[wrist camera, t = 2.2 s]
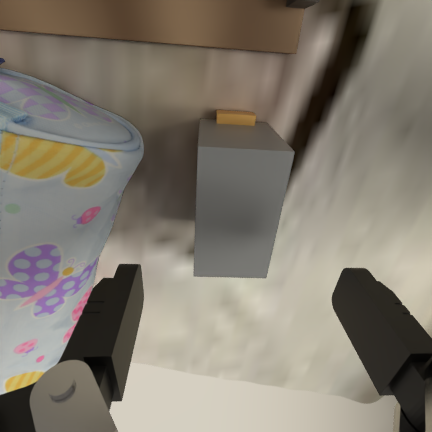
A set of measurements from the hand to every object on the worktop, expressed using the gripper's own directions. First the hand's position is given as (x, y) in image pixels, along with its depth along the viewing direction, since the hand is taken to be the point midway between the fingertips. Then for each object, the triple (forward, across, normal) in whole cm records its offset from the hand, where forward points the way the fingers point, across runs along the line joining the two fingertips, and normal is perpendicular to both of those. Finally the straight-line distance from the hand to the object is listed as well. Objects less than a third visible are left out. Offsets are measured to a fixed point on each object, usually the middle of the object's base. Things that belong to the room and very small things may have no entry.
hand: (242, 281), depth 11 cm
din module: (+11, 0, 0) cm, 11 cm away
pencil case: (+11, +12, +4) cm, 17 cm away
